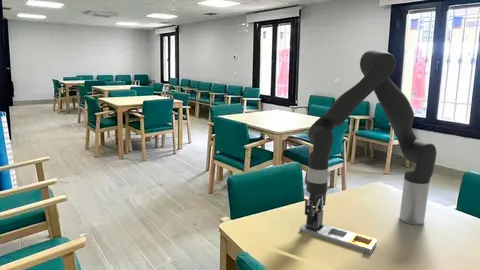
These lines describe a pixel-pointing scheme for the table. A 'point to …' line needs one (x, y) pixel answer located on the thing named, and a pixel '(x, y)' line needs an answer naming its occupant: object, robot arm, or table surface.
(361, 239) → the white slotted tray
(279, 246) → the table surface
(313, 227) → the dark gray block
